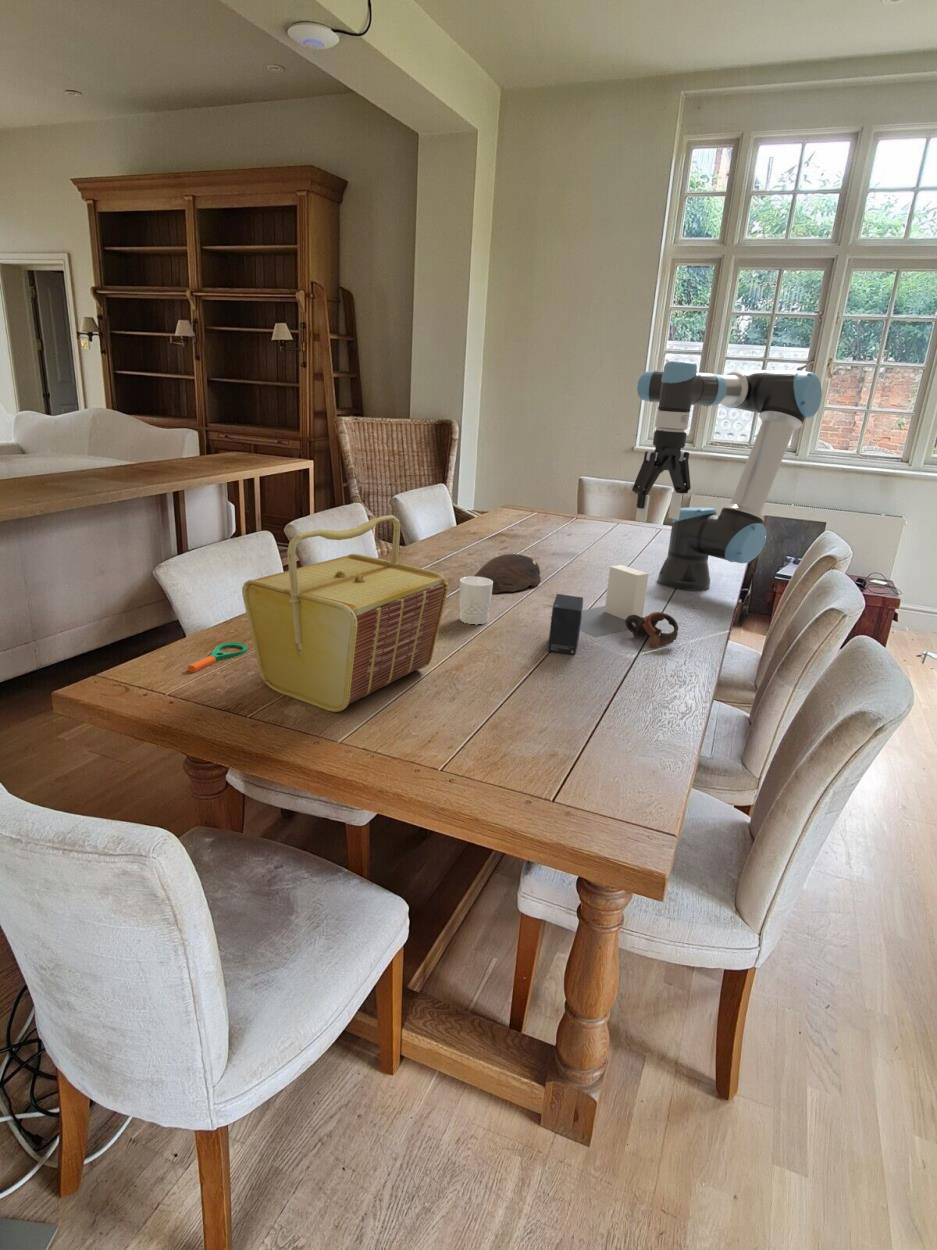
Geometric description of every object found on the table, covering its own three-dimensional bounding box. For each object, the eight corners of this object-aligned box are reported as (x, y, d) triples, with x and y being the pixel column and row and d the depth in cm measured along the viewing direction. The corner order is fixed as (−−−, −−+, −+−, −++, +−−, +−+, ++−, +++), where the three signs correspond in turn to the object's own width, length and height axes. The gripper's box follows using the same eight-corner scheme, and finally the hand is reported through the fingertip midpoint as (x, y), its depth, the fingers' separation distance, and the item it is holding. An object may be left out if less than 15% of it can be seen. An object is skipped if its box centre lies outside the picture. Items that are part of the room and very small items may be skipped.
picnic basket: (349, 727, 117) (349, 549, 107) (240, 686, 129) (232, 523, 119) (447, 673, 140) (455, 523, 130) (348, 642, 153) (348, 503, 143)
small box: (576, 656, 153) (582, 610, 150) (546, 652, 154) (551, 606, 151) (579, 639, 163) (584, 596, 159) (551, 636, 164) (555, 592, 161)
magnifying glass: (229, 645, 148) (229, 638, 148) (254, 650, 147) (253, 642, 146) (178, 670, 135) (178, 662, 134) (205, 676, 133) (204, 668, 132)
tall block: (615, 609, 185) (621, 564, 181) (641, 619, 178) (648, 573, 174) (604, 611, 183) (610, 566, 179) (631, 622, 176) (637, 575, 172)
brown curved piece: (669, 638, 169) (684, 616, 163) (664, 667, 163) (679, 644, 156) (622, 620, 170) (634, 597, 164) (615, 648, 163) (627, 625, 157)
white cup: (495, 619, 173) (498, 579, 170) (482, 628, 166) (485, 587, 163) (466, 613, 176) (468, 574, 173) (452, 622, 169) (454, 581, 166)
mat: (610, 606, 189) (610, 604, 189) (657, 624, 177) (658, 622, 177) (548, 618, 176) (549, 616, 176) (595, 638, 164) (595, 636, 164)
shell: (527, 607, 191) (525, 579, 188) (456, 606, 197) (453, 578, 194) (551, 567, 220) (550, 542, 217) (490, 567, 227) (488, 543, 224)
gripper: (649, 431, 160) (636, 526, 167) (714, 432, 174) (700, 519, 181) (624, 428, 166) (613, 520, 173) (689, 429, 180) (676, 514, 187)
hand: (657, 520), depth 177 cm, fingers open, 12 cm apart
